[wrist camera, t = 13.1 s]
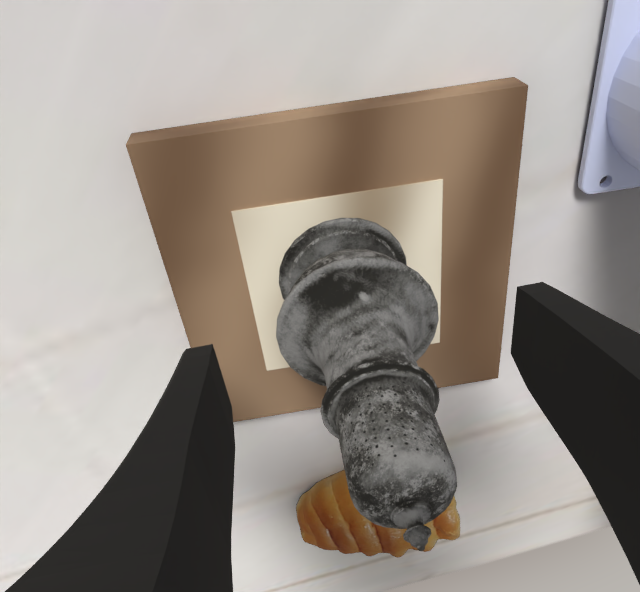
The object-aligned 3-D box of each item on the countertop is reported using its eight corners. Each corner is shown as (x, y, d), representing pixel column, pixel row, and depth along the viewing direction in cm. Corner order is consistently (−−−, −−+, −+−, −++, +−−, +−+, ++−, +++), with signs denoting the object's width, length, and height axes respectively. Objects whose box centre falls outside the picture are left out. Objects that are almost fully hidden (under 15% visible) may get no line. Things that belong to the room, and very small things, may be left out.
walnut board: (513, 77, 20) (529, 86, 19) (488, 361, 28) (498, 379, 27) (131, 133, 20) (125, 145, 19) (216, 407, 28) (215, 426, 27)
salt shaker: (368, 347, 25) (451, 626, 15) (248, 307, 23) (254, 598, 13) (441, 243, 22) (598, 500, 13) (312, 186, 20) (379, 440, 11)
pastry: (310, 536, 36) (317, 596, 32) (281, 472, 32) (286, 532, 29) (453, 500, 35) (473, 557, 32) (441, 431, 31) (463, 488, 28)
